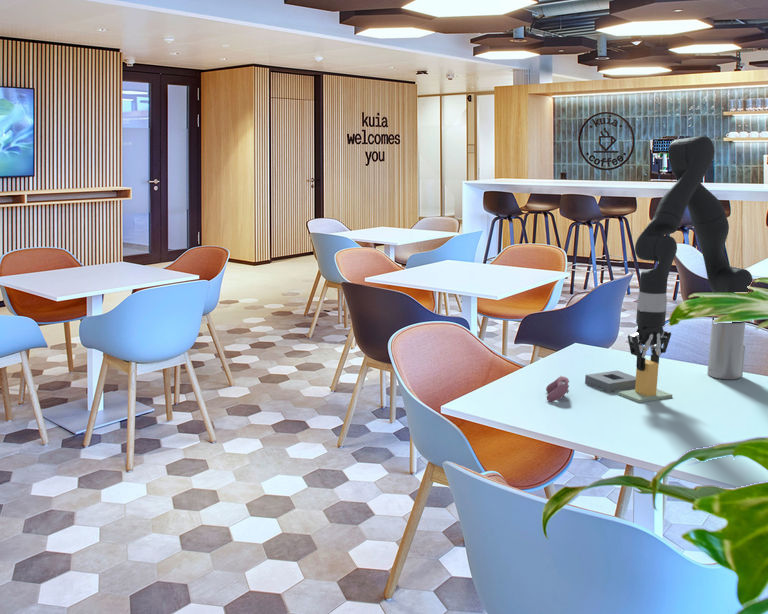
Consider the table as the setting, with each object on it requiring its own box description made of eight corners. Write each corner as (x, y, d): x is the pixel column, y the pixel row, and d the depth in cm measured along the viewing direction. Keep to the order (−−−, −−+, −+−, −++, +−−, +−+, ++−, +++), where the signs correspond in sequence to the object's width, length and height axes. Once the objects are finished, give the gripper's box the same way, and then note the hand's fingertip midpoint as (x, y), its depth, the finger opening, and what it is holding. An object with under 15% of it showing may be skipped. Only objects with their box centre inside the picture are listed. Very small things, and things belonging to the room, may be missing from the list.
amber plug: (644, 390, 221) (646, 359, 219) (656, 394, 216) (658, 363, 215) (634, 391, 219) (637, 360, 217) (646, 396, 215) (649, 364, 213)
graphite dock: (616, 378, 235) (617, 370, 235) (640, 387, 226) (641, 378, 226) (585, 383, 230) (585, 374, 230) (608, 392, 221) (608, 383, 221)
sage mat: (651, 389, 224) (651, 386, 224) (672, 397, 217) (672, 394, 217) (618, 394, 219) (618, 391, 219) (638, 402, 212) (639, 399, 212)
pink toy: (560, 408, 212) (573, 386, 210) (545, 400, 212) (558, 378, 210) (559, 397, 221) (571, 376, 220) (544, 389, 222) (557, 368, 220)
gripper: (661, 304, 220) (656, 363, 223) (621, 307, 214) (617, 368, 217) (681, 308, 213) (676, 369, 216) (641, 312, 207) (637, 375, 210)
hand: (647, 369), depth 217 cm, fingers open, 4 cm apart
